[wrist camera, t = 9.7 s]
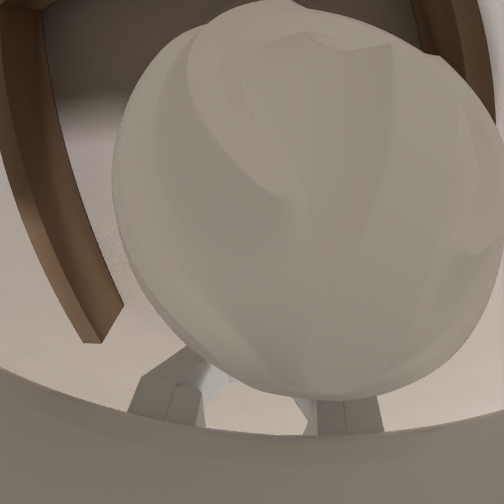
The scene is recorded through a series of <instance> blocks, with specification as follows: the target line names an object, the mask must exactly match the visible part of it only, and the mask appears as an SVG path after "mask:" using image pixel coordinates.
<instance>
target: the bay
mask: <svg viewBox="0 0 504 504" xmlns="http://www.w3.org/2000/svg"><path fill="white" fill-rule="evenodd" d="M56 1H58V0H0V152H1V155H2V159H3V163H4V166H5V170H6V173H7V177H8V180H9V183H10V186H11V189H12V192H13V195H14V198H15V201H16V204H17V207H18V210H19V212H20V215H21V218H22V221H23V223H24V226H25V228H26V231H27V233H28V236H29V238H30V241H31V243H32V245H33V248H34V250H35V252H36V254H37V257H38V259H39V261H40V263H41V265H42V268H43V270H44V272H45V274H46V276H47V278H48V280H49V282H50V284H51V286H52V288H53V290H54V292H55V294H56V296H57V298H58V300H59V301H60V303H61V305H62V307H63V309H64V311H65V312H66V314H67V316H68V318H69V320H70V321H71V323H72V325H73V326H74V328H75V330H76V332H77V333H78V335H79V337H80V338H81V340H82V341H83V343H98V344H102V342H103V340H104V339H105V337H106V335H107V334H108V332H109V330H110V328H111V327H112V325H113V323H114V322H115V320H116V318H117V317H118V315H119V313H120V312H121V310H122V308H123V307H124V304H123V302H122V300H121V298H120V296H119V293H118V291H117V289H116V287H115V285H114V282H113V280H112V278H111V276H110V273H109V271H108V269H107V266H106V264H105V262H104V259H103V257H102V254H101V252H100V249H99V247H98V244H97V242H96V239H95V237H94V234H93V231H92V229H91V226H90V223H89V221H88V218H87V215H86V212H85V209H84V207H83V204H82V201H81V198H80V195H79V192H78V189H77V185H76V182H75V179H74V176H73V173H72V169H71V166H70V162H69V159H68V155H67V152H66V148H65V144H64V141H63V137H62V133H61V129H60V125H59V121H58V116H57V112H56V107H55V102H54V98H53V93H52V87H51V82H50V76H49V70H48V64H47V57H46V50H45V42H44V33H43V23H42V10H44V9H45V8H47V7H48V6H50V5H51V4H53V3H54V2H56ZM411 2H412V5H413V9H414V13H415V18H416V22H417V26H418V31H419V36H420V41H421V46H422V51H423V53H426V54H431V55H437V56H440V57H442V58H443V59H444V60H445V61H446V62H447V63H448V64H449V65H450V66H451V67H452V68H453V69H454V70H455V71H456V72H457V73H458V74H459V75H460V76H461V77H462V78H463V79H464V80H465V82H466V83H467V84H468V85H469V86H470V87H471V89H472V90H473V91H474V92H475V94H476V95H477V96H478V98H479V99H480V100H481V102H482V103H483V105H484V106H485V108H486V109H487V111H488V113H489V114H490V116H491V118H492V120H493V122H494V123H495V125H496V117H495V100H494V89H493V80H492V71H491V64H490V58H489V52H488V46H487V41H486V36H485V31H484V26H483V22H482V18H481V14H480V10H479V6H478V2H477V0H411Z"/></svg>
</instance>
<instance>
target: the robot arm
mask: <svg viewBox="0 0 504 504" xmlns="http://www.w3.org/2000/svg"><path fill="white" fill-rule="evenodd" d="M229 382H231V383H242V382H241V381H239V380H237V379H235V378H233V377H231V376H230V375H228V374H226V373H225V372H223V371H222V370H220V369H218V368H217V367H215V366H214V365H212V364H211V363H209V362H208V361H207V360H205V359H204V358H202V357H201V356H200V355H198V354H197V353H196V352H195V351H193V350H192V349H191V348H190V347H189V346H185V347H184V348H183V349H181V350H180V351H178V352H177V353H175V354H174V355H173V356H171V357H170V358H168V359H167V360H165V361H164V362H163V363H161V364H160V365H158V366H157V367H155V368H154V369H152V370H151V371H149V372H148V373H147V374H145V375H144V376H142V377H141V379H140V381H139V384H138V386H137V389H136V391H135V394H134V396H133V399H132V401H131V404H130V406H129V409H128V411H127V412H124V411H120V410H116V409H113V408H109V407H106V406H102V405H99V404H95V403H92V402H89V401H86V400H82V399H79V398H76V397H73V396H70V395H67V394H65V393H62V392H59V391H56V390H53V389H51V388H48V387H46V386H43V385H40V384H38V383H35V382H33V381H31V380H28V379H26V378H23V377H21V376H19V375H16V374H14V373H12V372H10V371H8V370H5V369H3V368H1V367H0V504H504V410H500V411H497V412H493V413H489V414H485V415H481V416H477V417H473V418H469V419H464V420H460V421H455V422H450V423H445V424H439V425H434V426H428V427H421V428H414V429H407V430H399V431H390V432H384V428H383V423H382V419H381V414H380V410H379V405H378V401H377V396H374V397H369V398H364V399H357V400H346V401H325V400H312V399H303V398H296V397H292V398H293V399H294V401H295V402H296V404H297V405H298V407H299V408H300V410H301V411H302V413H303V414H304V416H305V417H306V419H307V420H308V424H307V426H306V429H305V431H304V433H303V435H276V434H260V433H247V432H237V431H228V430H219V429H212V428H206V425H205V417H204V410H205V409H206V408H207V407H208V406H209V405H210V404H211V403H212V402H213V401H214V400H215V399H216V398H217V396H218V395H219V394H220V393H221V392H222V391H223V390H224V389H225V388H226V387H227V386H228V385H229Z"/></svg>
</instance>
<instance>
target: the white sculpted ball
mask: <svg viewBox="0 0 504 504" xmlns="http://www.w3.org/2000/svg"><path fill="white" fill-rule="evenodd" d="M112 195H113V203H114V209H115V214H116V219H117V224H118V228H119V232H120V236H121V240H122V243H123V247H124V250H125V253H126V256H127V258H128V261H129V264H130V266H131V269H132V271H133V273H134V275H135V277H136V279H137V281H138V283H139V285H140V287H141V289H142V290H143V292H144V294H145V295H146V297H147V298H148V300H149V301H150V303H151V304H152V306H153V307H154V309H155V310H156V311H157V313H158V314H159V315H160V316H161V318H162V319H163V320H164V321H165V323H166V324H167V325H168V326H169V327H170V328H171V329H172V331H173V332H174V333H175V334H176V335H177V336H178V337H179V338H180V339H181V340H182V341H183V342H184V343H185V344H186V345H187V346H189V347H190V348H191V349H192V350H193V351H195V352H196V353H197V354H198V355H200V356H201V357H202V358H204V359H205V360H207V361H208V362H209V363H211V364H212V365H214V366H215V367H217V368H218V369H220V370H222V371H223V372H225V373H226V374H228V375H230V376H231V377H233V378H235V379H237V380H239V381H241V382H242V383H244V384H246V385H248V386H250V387H252V388H255V389H257V390H260V391H263V392H267V393H272V394H277V395H283V396H289V397H296V398H303V399H312V400H325V401H346V400H357V399H364V398H369V397H374V396H378V395H381V394H385V393H388V392H391V391H394V390H396V389H399V388H401V387H404V386H406V385H409V384H411V383H413V382H415V381H417V380H419V379H421V378H423V377H425V376H426V375H428V374H430V373H431V372H433V371H435V370H436V369H437V368H439V367H440V366H442V365H443V364H444V363H445V362H447V361H448V360H449V359H450V358H451V357H452V356H453V355H454V354H455V353H456V352H457V351H458V350H459V349H460V348H461V347H462V345H463V344H464V343H465V342H466V340H467V339H468V338H469V336H470V335H471V333H472V332H473V330H474V329H475V327H476V325H477V323H478V322H479V320H480V318H481V316H482V314H483V312H484V310H485V308H486V305H487V303H488V301H489V298H490V296H491V293H492V290H493V287H494V284H495V281H496V278H497V274H498V270H499V266H500V262H501V257H502V252H503V247H504V144H503V141H502V139H501V136H500V134H499V132H498V130H497V127H496V125H495V123H494V122H493V120H492V118H491V116H490V114H489V113H488V111H487V109H486V108H485V106H484V105H483V103H482V102H481V100H480V99H479V98H478V96H477V95H476V94H475V92H474V91H473V90H472V89H471V87H470V86H469V85H468V84H467V83H466V82H465V80H464V79H463V78H462V77H461V76H460V75H459V74H458V73H457V72H456V71H455V70H454V69H453V68H452V67H451V66H450V65H449V64H448V63H447V62H446V61H445V60H444V59H443V58H442V57H440V56H437V55H431V54H426V53H423V52H422V51H420V50H419V49H417V48H415V47H414V46H412V45H410V44H409V43H407V42H405V41H404V40H402V39H400V38H398V37H396V36H394V35H392V34H390V33H388V32H386V31H384V30H382V29H380V28H377V27H375V26H373V25H370V24H367V23H365V22H362V21H359V20H356V19H353V18H350V17H346V16H343V15H339V14H334V13H330V12H325V11H319V10H314V9H308V8H305V7H303V6H301V5H299V4H297V3H295V2H293V1H292V0H262V1H256V2H252V3H248V4H244V5H241V6H238V7H235V8H233V9H230V10H228V11H226V12H224V13H222V14H220V15H219V16H217V17H216V18H214V19H213V20H211V21H210V22H209V23H208V24H205V25H201V26H198V27H196V28H193V29H191V30H188V31H186V32H184V33H182V34H181V35H179V36H177V37H176V38H174V39H173V40H172V41H171V42H169V43H168V44H167V45H166V46H165V47H164V48H163V49H162V50H161V51H160V52H159V53H158V54H157V55H156V57H155V58H154V59H153V60H152V62H151V63H150V64H149V66H148V67H147V68H146V70H145V71H144V73H143V74H142V76H141V78H140V79H139V81H138V83H137V84H136V86H135V88H134V90H133V92H132V94H131V96H130V98H129V101H128V103H127V105H126V108H125V111H124V113H123V116H122V119H121V123H120V126H119V130H118V134H117V138H116V143H115V148H114V155H113V164H112Z"/></svg>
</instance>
